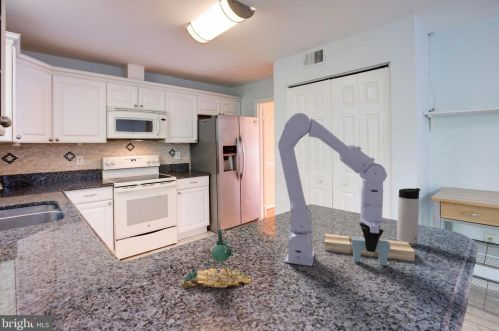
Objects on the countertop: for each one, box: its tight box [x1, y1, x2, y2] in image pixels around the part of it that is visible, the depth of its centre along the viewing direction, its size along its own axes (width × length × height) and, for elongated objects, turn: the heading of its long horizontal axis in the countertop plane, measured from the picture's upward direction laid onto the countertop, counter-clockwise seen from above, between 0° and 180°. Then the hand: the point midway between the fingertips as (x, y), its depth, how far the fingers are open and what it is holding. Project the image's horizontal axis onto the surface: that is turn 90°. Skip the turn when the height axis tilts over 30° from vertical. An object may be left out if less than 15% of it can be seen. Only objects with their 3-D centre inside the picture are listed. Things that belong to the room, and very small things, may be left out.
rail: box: [324, 233, 416, 262], centre depth 84 cm, size 8×26×3 cm, turn 71°
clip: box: [351, 236, 390, 266], centre depth 74 cm, size 2×10×6 cm, turn 71°
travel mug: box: [396, 187, 422, 247], centre depth 90 cm, size 6×7×20 cm
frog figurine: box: [180, 228, 252, 288], centre depth 64 cm, size 10×18×15 cm, turn 89°
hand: (370, 249), depth 74 cm, fingers closed on clip, 2 cm apart
